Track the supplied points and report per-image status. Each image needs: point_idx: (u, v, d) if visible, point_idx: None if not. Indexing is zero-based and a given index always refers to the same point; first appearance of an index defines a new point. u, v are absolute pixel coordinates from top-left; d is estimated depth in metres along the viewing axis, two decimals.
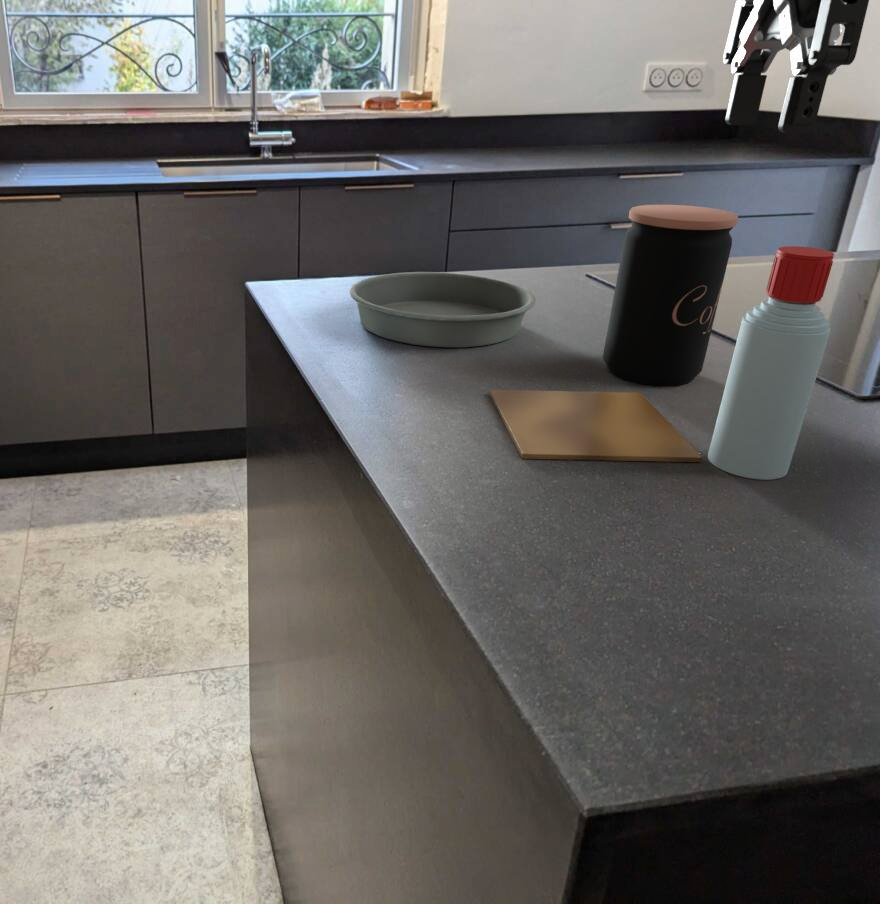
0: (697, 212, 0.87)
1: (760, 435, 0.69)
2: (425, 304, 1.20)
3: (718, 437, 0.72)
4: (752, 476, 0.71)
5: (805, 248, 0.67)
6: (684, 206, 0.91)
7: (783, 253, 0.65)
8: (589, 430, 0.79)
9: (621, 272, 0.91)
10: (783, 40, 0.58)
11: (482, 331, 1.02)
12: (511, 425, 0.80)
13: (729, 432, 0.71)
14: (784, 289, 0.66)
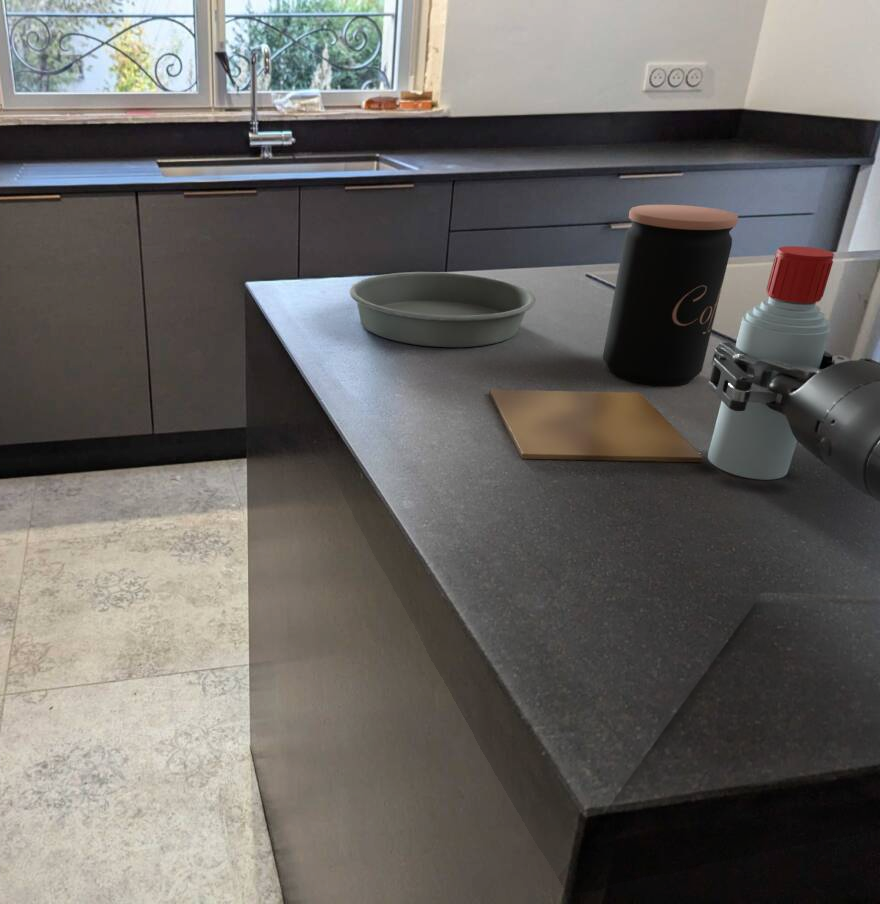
0: (697, 212, 0.87)
1: (760, 435, 0.69)
2: (425, 304, 1.20)
3: (718, 436, 0.72)
4: (752, 476, 0.71)
5: (805, 248, 0.67)
6: (684, 206, 0.91)
7: (783, 253, 0.65)
8: (589, 430, 0.79)
9: (621, 272, 0.91)
10: None
11: (482, 331, 1.02)
12: (511, 425, 0.80)
13: (729, 432, 0.71)
14: (784, 289, 0.66)
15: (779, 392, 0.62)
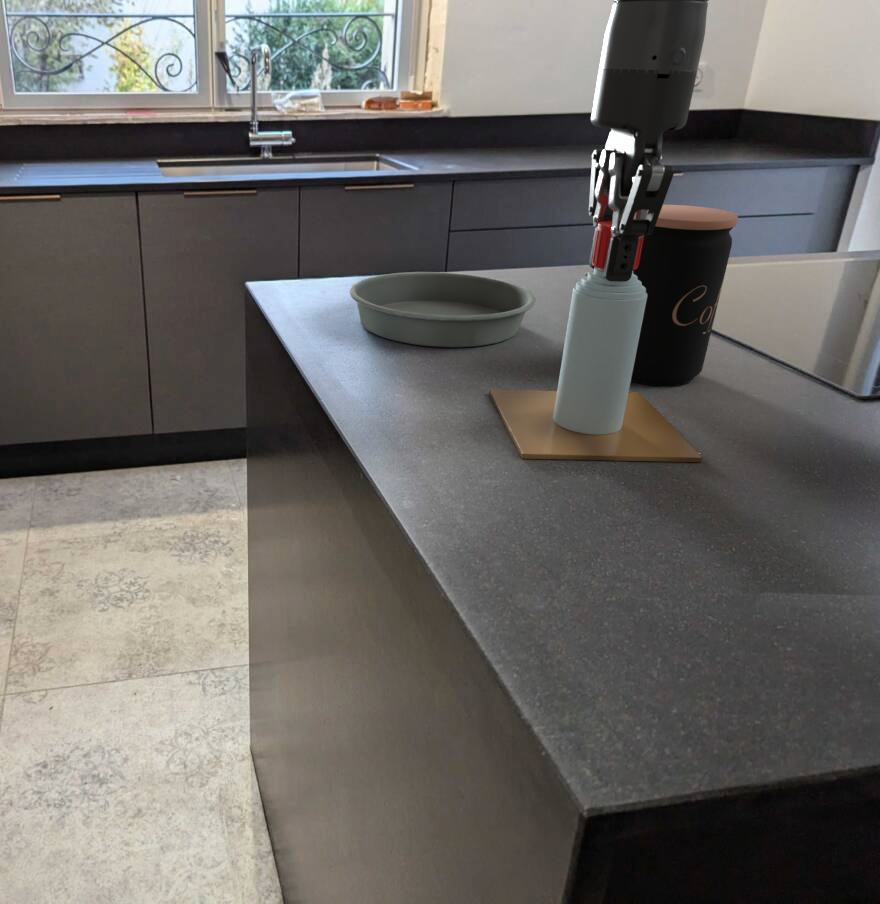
0: (697, 212, 0.87)
1: (590, 394, 0.76)
2: (425, 304, 1.20)
3: (558, 397, 0.80)
4: (586, 431, 0.78)
5: (607, 223, 0.73)
6: (684, 206, 0.91)
7: None
8: None
9: None
10: None
11: (482, 331, 1.02)
12: (511, 425, 0.80)
13: (566, 392, 0.78)
14: (635, 260, 0.72)
15: (643, 148, 0.66)
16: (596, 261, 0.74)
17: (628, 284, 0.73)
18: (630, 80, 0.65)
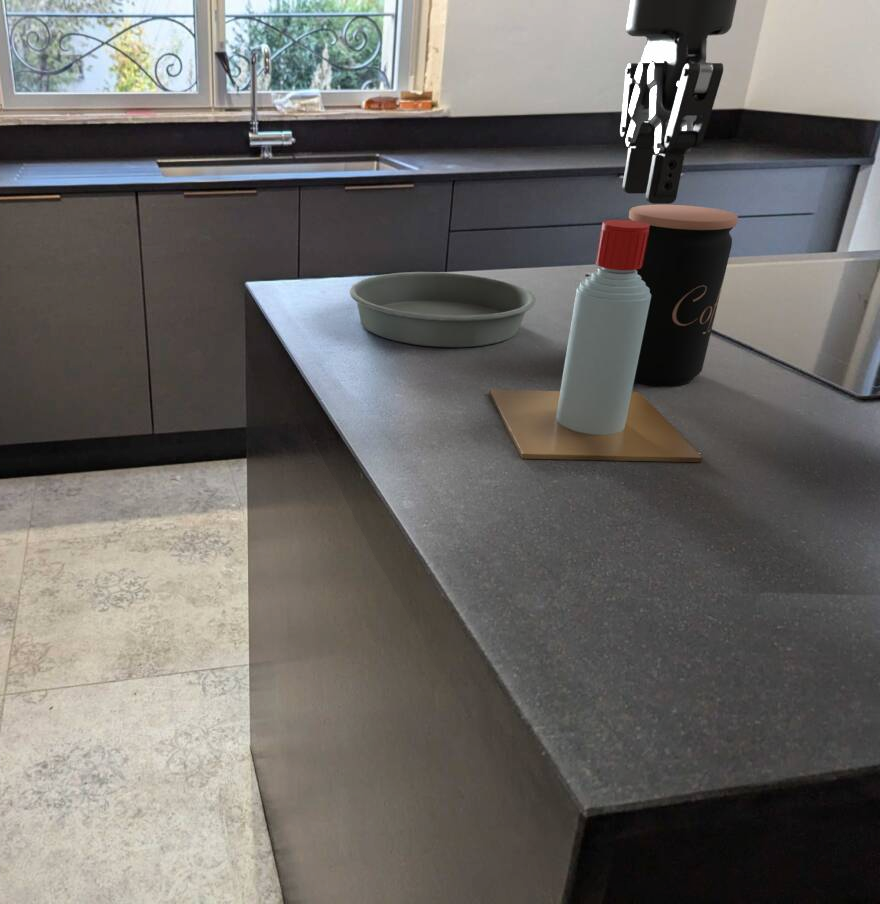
0: (697, 212, 0.87)
1: (596, 395, 0.76)
2: (425, 304, 1.20)
3: (563, 398, 0.79)
4: (592, 432, 0.78)
5: (623, 225, 0.72)
6: (684, 206, 0.91)
7: None
8: None
9: None
10: None
11: (482, 331, 1.02)
12: (511, 425, 0.80)
13: (571, 393, 0.78)
14: None
15: (686, 51, 0.61)
16: (633, 264, 0.72)
17: (634, 284, 0.73)
18: None
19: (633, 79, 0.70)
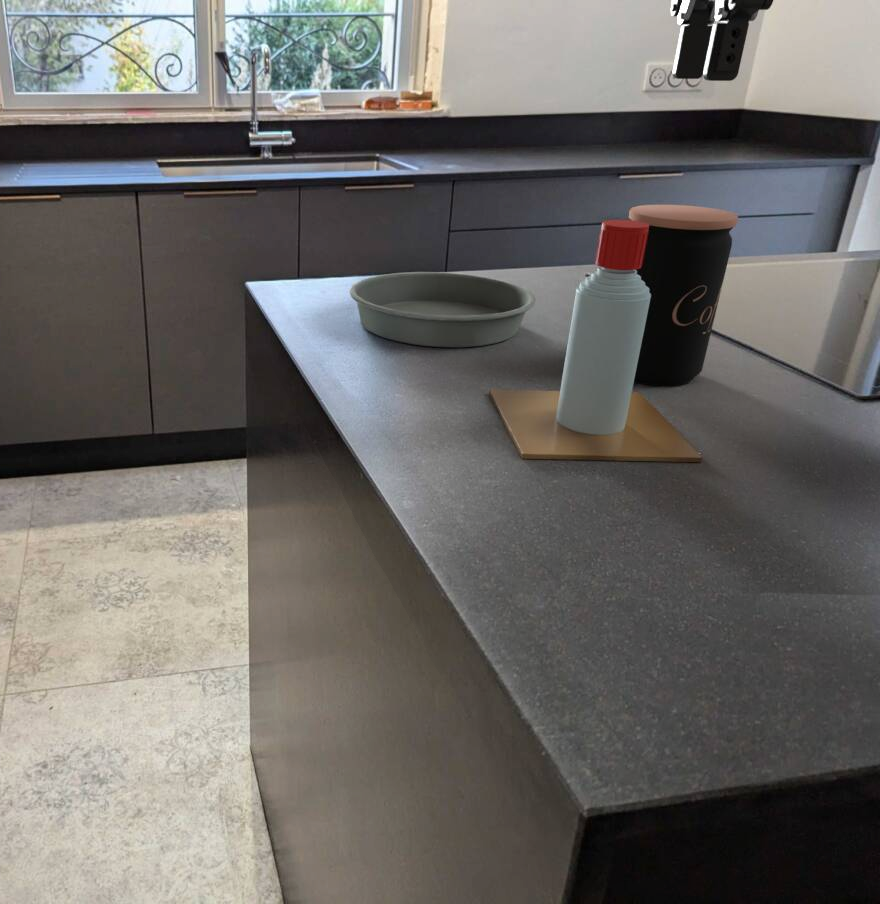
0: (697, 212, 0.87)
1: (596, 394, 0.76)
2: (425, 304, 1.20)
3: (563, 398, 0.79)
4: (592, 432, 0.78)
5: (623, 225, 0.72)
6: (684, 206, 0.91)
7: None
8: None
9: None
10: None
11: (482, 331, 1.02)
12: (511, 425, 0.80)
13: (571, 393, 0.78)
14: None
15: None
16: (632, 264, 0.72)
17: (633, 284, 0.73)
18: None
19: None
